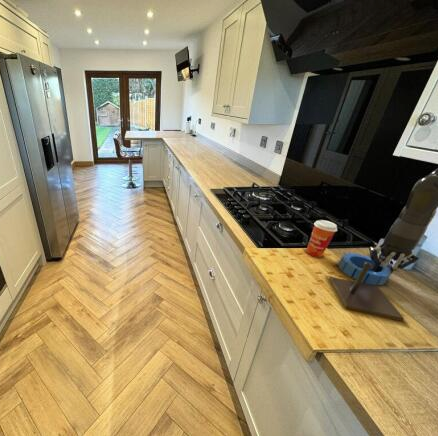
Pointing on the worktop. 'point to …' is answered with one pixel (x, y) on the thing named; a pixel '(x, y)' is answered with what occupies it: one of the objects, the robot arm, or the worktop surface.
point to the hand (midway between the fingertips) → (380, 274)
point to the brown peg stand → (364, 296)
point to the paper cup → (320, 237)
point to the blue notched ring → (351, 268)
